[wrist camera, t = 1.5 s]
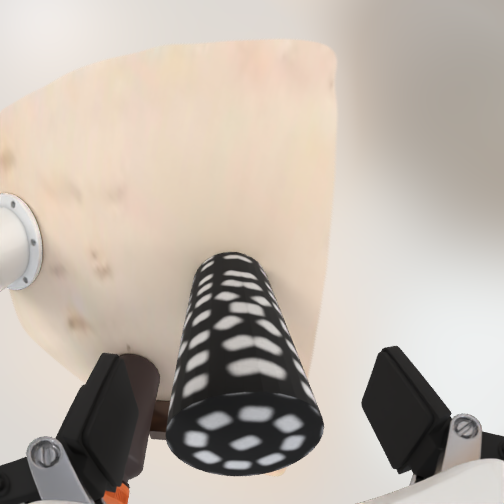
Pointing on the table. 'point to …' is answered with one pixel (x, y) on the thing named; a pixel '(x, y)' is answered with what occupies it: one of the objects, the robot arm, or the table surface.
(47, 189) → the table surface
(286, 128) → the table surface
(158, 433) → the bar
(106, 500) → the bottle
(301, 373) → the white-spotted black cylinder
